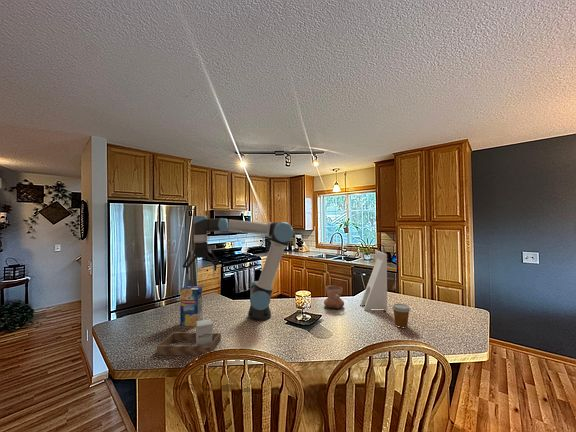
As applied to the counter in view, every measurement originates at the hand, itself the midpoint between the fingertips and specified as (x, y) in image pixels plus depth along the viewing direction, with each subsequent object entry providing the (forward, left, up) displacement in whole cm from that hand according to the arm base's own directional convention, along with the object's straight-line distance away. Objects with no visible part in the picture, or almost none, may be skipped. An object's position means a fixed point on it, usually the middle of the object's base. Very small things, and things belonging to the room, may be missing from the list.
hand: (201, 277), depth 149 cm
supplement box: (-10, +21, -30) cm, 38 cm away
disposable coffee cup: (-118, -9, -30) cm, 122 cm away
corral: (-3, +21, -30) cm, 37 cm away
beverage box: (+9, -7, -30) cm, 32 cm away
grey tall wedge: (-109, -40, -30) cm, 120 cm away
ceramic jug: (-82, -41, -30) cm, 96 cm away
